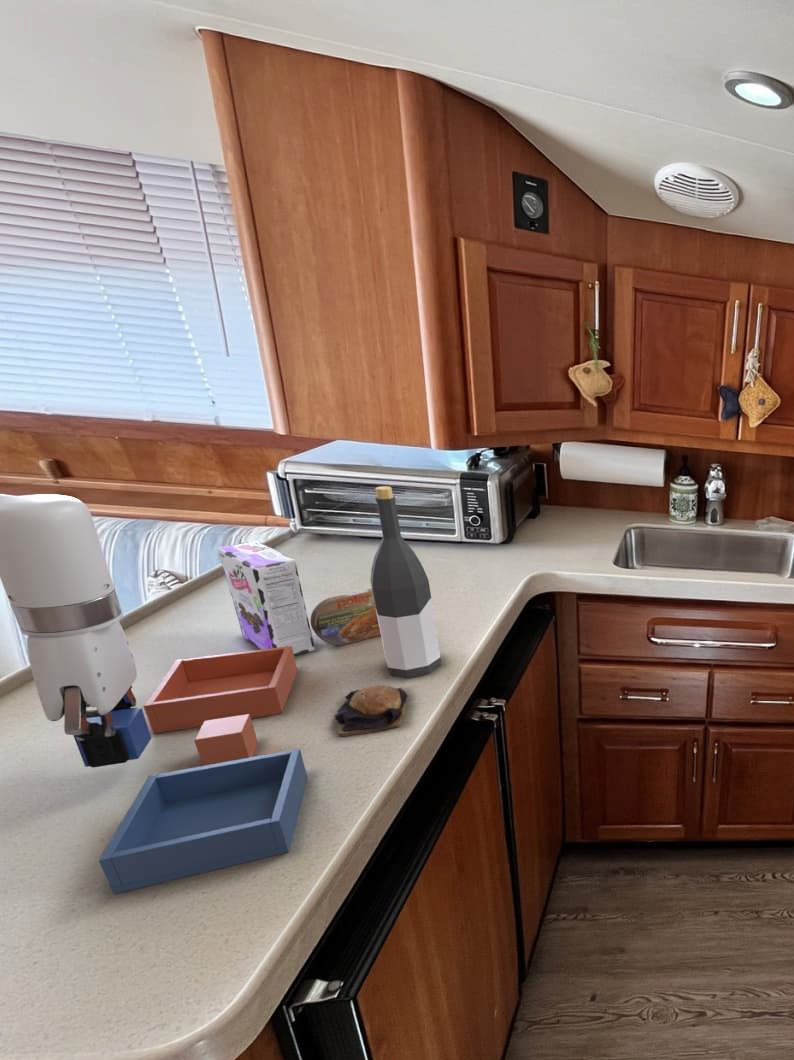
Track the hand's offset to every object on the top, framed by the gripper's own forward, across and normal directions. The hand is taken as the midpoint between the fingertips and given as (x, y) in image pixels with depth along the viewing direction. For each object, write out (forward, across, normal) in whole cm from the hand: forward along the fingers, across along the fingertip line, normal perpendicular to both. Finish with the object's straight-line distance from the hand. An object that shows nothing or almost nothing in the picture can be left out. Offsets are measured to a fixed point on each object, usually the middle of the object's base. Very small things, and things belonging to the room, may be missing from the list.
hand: (118, 749), depth 75 cm
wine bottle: (+3, -18, +30) cm, 35 cm away
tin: (+3, -33, +22) cm, 40 cm away
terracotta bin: (+3, -16, +7) cm, 18 cm away
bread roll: (+3, -5, +25) cm, 25 cm away
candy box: (+4, -34, +10) cm, 36 cm away
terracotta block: (+3, 0, +10) cm, 10 cm away
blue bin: (+3, +15, +12) cm, 19 cm away
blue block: (0, 0, 0) cm, 0 cm away
